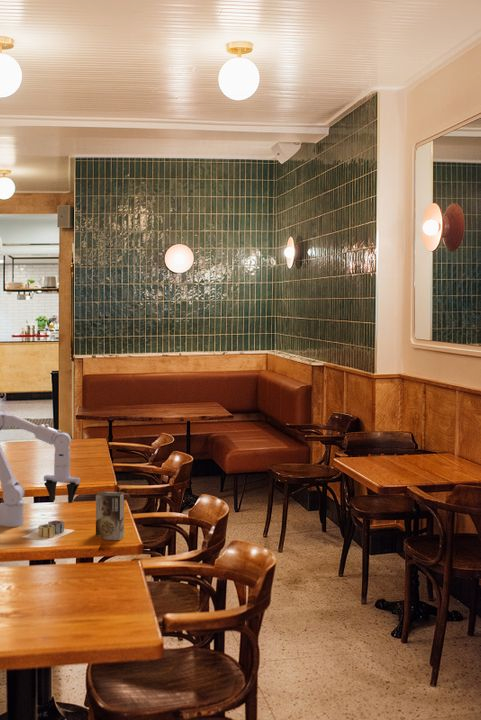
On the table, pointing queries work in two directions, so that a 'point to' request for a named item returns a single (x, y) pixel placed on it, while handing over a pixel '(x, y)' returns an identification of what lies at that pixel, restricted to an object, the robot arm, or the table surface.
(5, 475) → the robot arm
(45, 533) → the brass gear
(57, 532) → the steel gear
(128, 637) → the table surface
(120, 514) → the coffee box
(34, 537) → the gear board
